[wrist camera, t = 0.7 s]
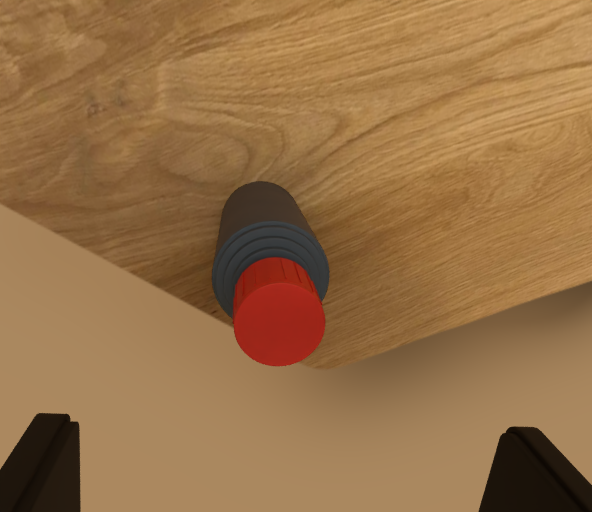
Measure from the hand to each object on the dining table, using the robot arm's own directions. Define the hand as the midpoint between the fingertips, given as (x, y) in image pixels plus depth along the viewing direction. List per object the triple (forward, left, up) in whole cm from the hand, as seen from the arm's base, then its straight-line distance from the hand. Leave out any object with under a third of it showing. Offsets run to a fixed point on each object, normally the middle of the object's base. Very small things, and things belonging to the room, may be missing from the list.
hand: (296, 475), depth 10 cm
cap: (+1, -1, -13) cm, 13 cm away
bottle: (+1, -1, -30) cm, 30 cm away
